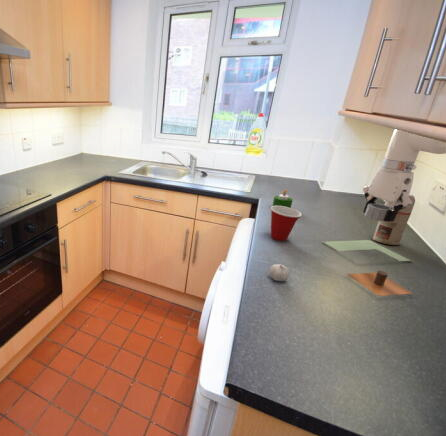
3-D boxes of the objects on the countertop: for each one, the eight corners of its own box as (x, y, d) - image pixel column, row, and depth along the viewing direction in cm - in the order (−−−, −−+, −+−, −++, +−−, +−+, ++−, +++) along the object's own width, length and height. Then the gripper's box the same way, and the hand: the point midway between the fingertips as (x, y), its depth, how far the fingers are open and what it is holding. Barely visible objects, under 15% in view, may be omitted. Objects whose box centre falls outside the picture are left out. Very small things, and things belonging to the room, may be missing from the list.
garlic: (287, 286, 87) (291, 271, 85) (267, 281, 89) (270, 266, 87) (287, 276, 92) (291, 262, 90) (268, 271, 94) (272, 257, 92)
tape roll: (377, 213, 105) (381, 203, 104) (396, 221, 99) (400, 210, 98) (359, 214, 105) (363, 203, 103) (377, 221, 98) (382, 210, 97)
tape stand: (377, 274, 94) (381, 262, 92) (412, 295, 84) (418, 282, 82) (345, 276, 93) (349, 264, 91) (378, 298, 82) (383, 284, 81)
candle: (268, 207, 151) (273, 188, 147) (276, 204, 156) (281, 186, 152) (285, 212, 145) (290, 192, 141) (293, 209, 150) (298, 190, 146)
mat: (368, 240, 117) (369, 239, 117) (410, 261, 102) (410, 260, 102) (322, 242, 114) (322, 241, 114) (357, 264, 100) (358, 262, 100)
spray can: (366, 236, 121) (383, 189, 113) (386, 237, 120) (405, 189, 113) (382, 245, 113) (402, 195, 105) (404, 246, 112) (425, 196, 105)
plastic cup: (295, 246, 111) (304, 216, 106) (264, 240, 115) (270, 211, 111) (293, 235, 120) (301, 207, 116) (264, 230, 124) (270, 203, 120)
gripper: (437, 171, 88) (413, 226, 94) (382, 160, 103) (365, 208, 110) (415, 171, 87) (392, 227, 93) (362, 160, 103) (346, 208, 109)
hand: (377, 216), depth 102 cm, fingers closed on tape roll, 7 cm apart
